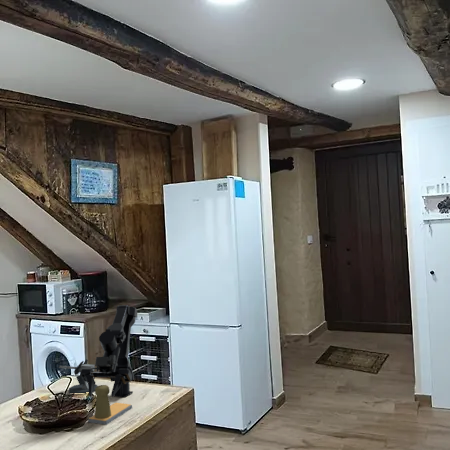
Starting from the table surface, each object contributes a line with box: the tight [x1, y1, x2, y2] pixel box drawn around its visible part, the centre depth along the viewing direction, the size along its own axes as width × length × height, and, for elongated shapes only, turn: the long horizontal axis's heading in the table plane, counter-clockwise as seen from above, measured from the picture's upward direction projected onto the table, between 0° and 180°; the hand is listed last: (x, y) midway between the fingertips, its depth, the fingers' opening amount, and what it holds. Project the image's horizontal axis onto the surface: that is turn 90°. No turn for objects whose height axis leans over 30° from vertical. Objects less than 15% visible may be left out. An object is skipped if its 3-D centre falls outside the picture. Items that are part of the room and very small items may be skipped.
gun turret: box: [58, 359, 99, 394], centre depth 225 cm, size 13×20×13 cm, turn 71°
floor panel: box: [87, 402, 133, 426], centre depth 194 cm, size 17×8×1 cm, turn 158°
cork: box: [94, 384, 111, 419], centre depth 189 cm, size 6×6×11 cm
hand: (101, 396), depth 187 cm, fingers open, 8 cm apart
